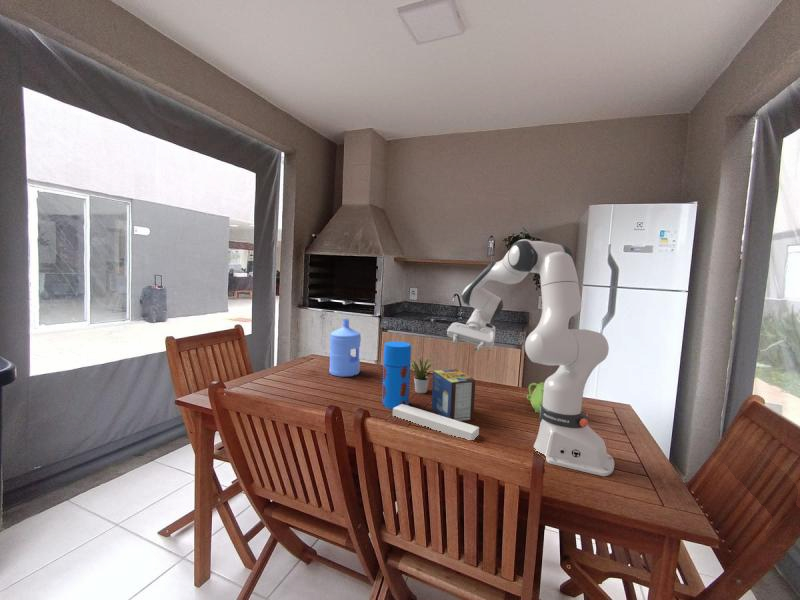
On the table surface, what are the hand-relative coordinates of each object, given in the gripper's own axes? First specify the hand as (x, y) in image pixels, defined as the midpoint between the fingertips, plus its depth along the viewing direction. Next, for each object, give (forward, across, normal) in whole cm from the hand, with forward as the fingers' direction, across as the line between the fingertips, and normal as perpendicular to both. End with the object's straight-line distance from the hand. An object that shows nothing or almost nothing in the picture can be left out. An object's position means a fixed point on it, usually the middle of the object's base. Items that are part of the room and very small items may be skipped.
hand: (465, 346), depth 151 cm
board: (+34, +1, +10) cm, 36 cm away
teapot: (+1, +36, +21) cm, 42 cm away
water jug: (+6, -61, +36) cm, 71 cm away
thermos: (+26, -19, +18) cm, 37 cm away
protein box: (+22, +3, +16) cm, 28 cm away
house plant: (+7, -16, +28) cm, 32 cm away
